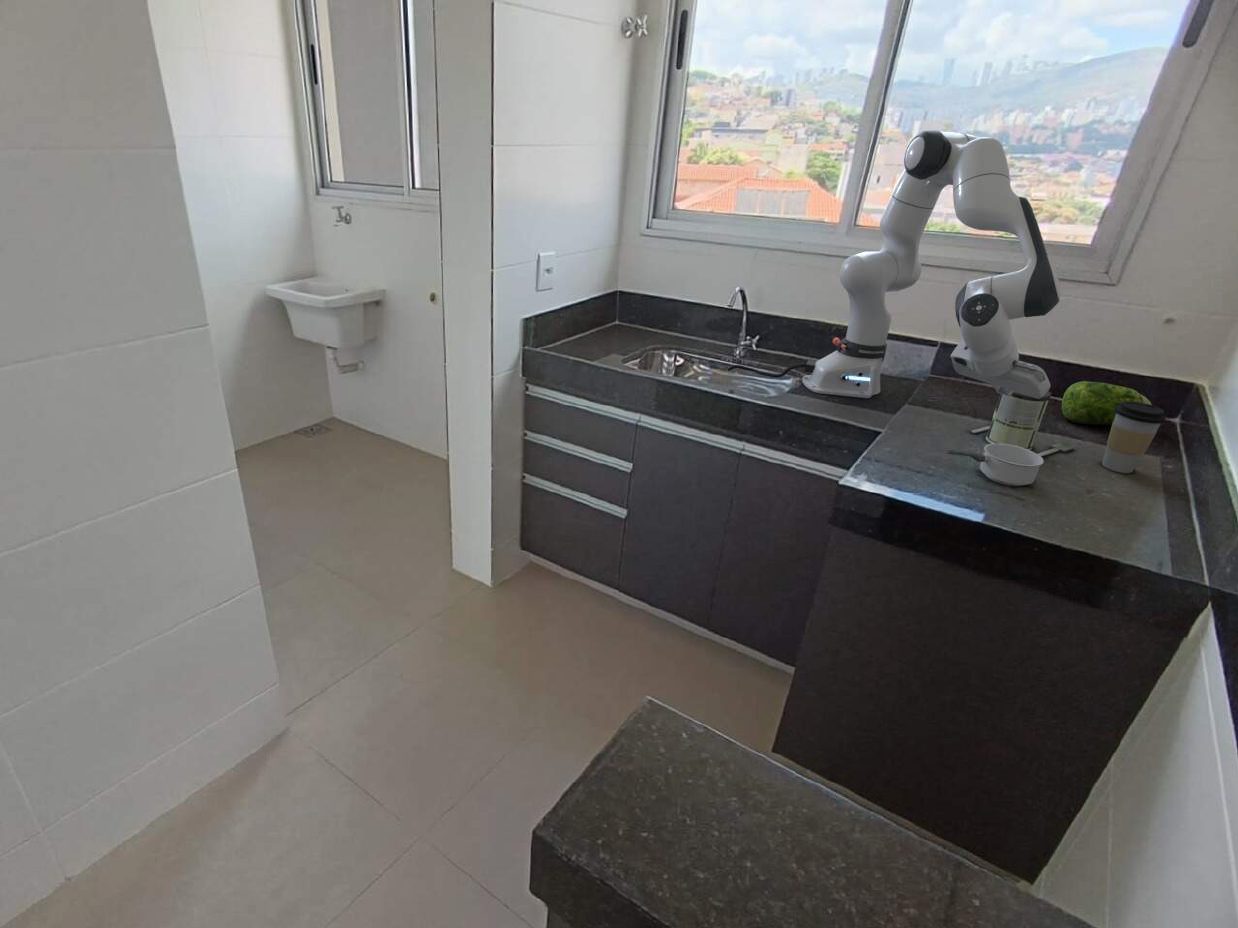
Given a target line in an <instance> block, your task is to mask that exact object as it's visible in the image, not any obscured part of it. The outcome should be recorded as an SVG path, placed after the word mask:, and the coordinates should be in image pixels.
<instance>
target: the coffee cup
mask: <svg viewBox="0 0 1238 928" xmlns="http://www.w3.org/2000/svg"><path fill="white" fill-rule="evenodd" d="M1114 412H1115V413H1116V416H1115V419H1114V422H1113V423H1112V425H1111V428H1110V432H1109V435H1108V438H1107V442H1106V448H1105V452H1104V456H1103V459H1102V466H1103V467H1104V468H1106V469H1108V470H1111V471H1113V472H1115V473H1116V472H1117V473H1121V474H1130V473H1131V474H1132V473H1133V472H1134V470H1135V468H1136V467H1137V465H1138V464H1139V461H1140V460H1141V458H1142V457H1143V455H1144V454H1145V453H1146V452H1147V450H1148V448H1149V447H1150V445H1151V443H1152V441H1153V439H1154V438H1155V436H1156V434H1157V433H1158V429H1159V428H1160V426H1161V424H1164V423H1165V422H1166V420H1167V416H1166V415H1165V410H1164V409H1162V408H1160V407H1158V406H1156V405H1153V404H1151V405H1150V404H1146V403H1141V402H1135V401H1124V402H1122V403H1121V404H1120V405H1118V406H1116V408H1115V409H1114Z"/></svg>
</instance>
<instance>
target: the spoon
mask: <svg viewBox="0 0 1238 928" xmlns="http://www.w3.org/2000/svg"><path fill="white" fill-rule="evenodd" d="M1049 448H1050V449H1047V450H1045V451H1041V452H1039V453H1037V454H1038V455H1039V456H1041V457H1042V458H1044V457H1047V456H1050V455H1053V454H1055V453H1062V454H1064V453H1068V452H1070V451H1073V450H1074V448H1075V447H1074V446H1072V445H1068V444H1066V443H1063V442H1058V443H1055V444H1052V445H1050V447H1049Z"/></svg>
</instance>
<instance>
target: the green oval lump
mask: <svg viewBox="0 0 1238 928" xmlns="http://www.w3.org/2000/svg"><path fill="white" fill-rule="evenodd" d="M1124 401H1135V402H1141V403H1146V404H1150V405H1152V403H1151V401H1150V400H1149V399H1148V398H1147V397H1146V396H1144V395H1142V394H1141V393H1139V392H1138V391H1136V390H1135V389H1132V388H1129V387H1126V386H1121V385H1116V384H1111V383H1107V382H1099V381H1098V382H1097V381H1085V380H1083V381H1077V382H1075V383H1073V384H1071V385H1070V386H1068V387H1067V389H1066V390H1065V392H1064V393H1063V396H1062V400H1061V411H1062V415H1063V416H1064V417H1065V418H1066V419H1068V420H1069V421H1070V422H1072V423H1074V424H1080V425H1092V426H1093V425H1094V426H1112V423H1113V422H1114V419H1115V416H1116V413H1115V412H1114V409H1115V408H1116V406H1118V405H1120V404H1121V403H1122V402H1124Z"/></svg>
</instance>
